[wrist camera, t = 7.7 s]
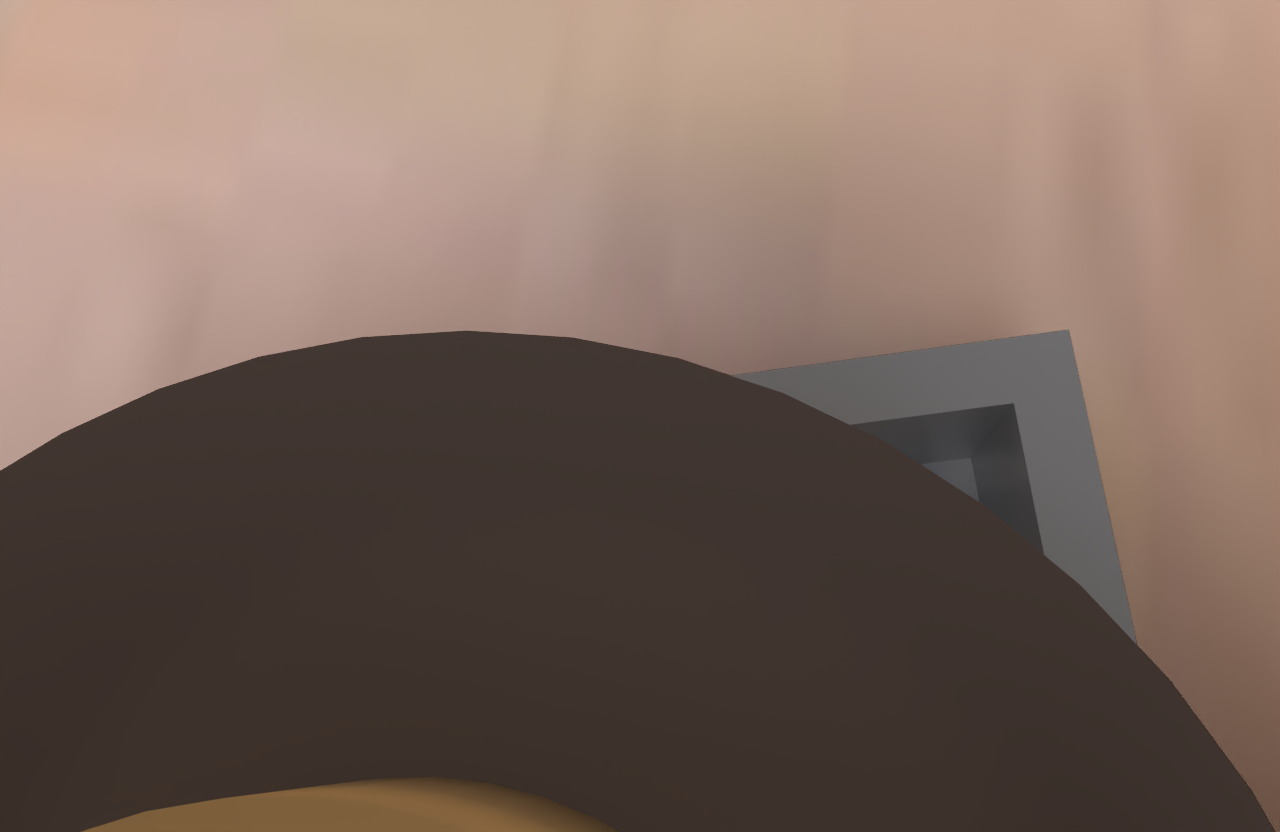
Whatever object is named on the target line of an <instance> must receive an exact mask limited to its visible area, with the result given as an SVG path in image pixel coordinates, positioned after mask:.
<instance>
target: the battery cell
mask: <svg viewBox="0 0 1280 832" xmlns="http://www.w3.org/2000/svg"><path fill="white" fill-rule="evenodd" d="M0 832H1275V830H1274V829H1273V827H1272V825H1271V823H1270V822H1269V820H1268V818H1267V816H1266V815H1265V813H1264V811H1263V809H1262V808H1261V806H1260V804H1259V802H1258V801H1257V799H1256V797H1255V796H1254V794H1253V792H1252V790H1251V789H1250V787H1249V786H1248V785H1247V783H1246V782H1245V781H1244V779H1243V778H1242V777H1241V775H1240V774H1239V773H1238V771H1237V770H1236V769H1235V767H1234V766H1233V764H1232V763H1231V762H1230V760H1229V759H1228V758H1227V756H1226V755H1225V754H1224V752H1223V751H1222V750H1221V748H1220V747H1219V746H1218V744H1217V743H1216V742H1215V740H1214V739H1213V737H1212V736H1211V735H1210V733H1209V732H1208V731H1207V729H1206V728H1205V727H1204V725H1203V724H1202V723H1201V721H1200V720H1199V719H1198V717H1197V716H1196V714H1195V713H1194V712H1193V710H1192V709H1191V708H1190V706H1189V705H1188V704H1187V702H1186V701H1185V700H1184V698H1183V697H1182V696H1181V694H1180V693H1179V691H1178V690H1177V689H1176V687H1175V686H1174V685H1173V683H1172V682H1171V681H1170V680H1169V678H1168V677H1167V676H1166V675H1165V674H1164V673H1163V672H1162V671H1161V670H1160V669H1159V668H1158V667H1157V666H1156V665H1155V664H1154V663H1153V661H1152V660H1151V659H1150V658H1149V657H1148V656H1147V655H1146V654H1145V653H1144V652H1143V651H1142V650H1141V649H1140V648H1139V647H1138V646H1137V644H1136V643H1135V642H1134V641H1133V640H1132V639H1131V638H1130V637H1129V636H1128V635H1127V634H1126V633H1125V632H1124V631H1123V630H1122V629H1121V628H1120V626H1119V625H1118V624H1117V623H1116V622H1115V621H1114V620H1113V619H1112V618H1111V617H1110V616H1109V615H1108V614H1107V613H1106V612H1105V611H1104V609H1103V608H1102V607H1101V606H1100V605H1099V604H1098V603H1097V602H1096V601H1095V600H1094V599H1093V598H1092V597H1091V596H1090V595H1089V594H1088V592H1087V591H1086V590H1085V589H1084V588H1083V587H1082V586H1081V585H1080V584H1078V583H1077V582H1076V581H1075V580H1074V579H1072V578H1071V577H1070V576H1069V575H1068V574H1066V573H1065V572H1064V571H1063V570H1062V569H1060V568H1059V567H1058V566H1057V565H1056V564H1054V563H1053V562H1052V561H1051V560H1050V559H1048V558H1047V557H1046V556H1045V555H1044V554H1042V553H1041V552H1040V551H1039V550H1038V549H1036V548H1035V547H1034V546H1033V545H1032V544H1030V543H1029V542H1028V541H1027V540H1026V539H1024V538H1023V537H1022V536H1021V535H1020V534H1018V533H1017V532H1016V531H1015V530H1014V529H1012V528H1011V527H1010V526H1009V525H1008V524H1006V523H1005V522H1004V521H1003V520H1002V519H1000V518H999V517H998V516H997V515H996V514H994V513H993V512H992V511H991V510H990V509H988V508H987V507H986V506H984V505H983V504H981V503H980V502H978V501H977V500H975V499H974V498H972V497H970V496H969V495H967V494H966V493H964V492H963V491H961V490H960V489H958V488H956V487H955V486H953V485H952V484H950V483H949V482H947V481H946V480H944V479H942V478H941V477H939V476H938V475H936V474H935V473H933V472H932V471H930V470H928V469H927V468H925V467H924V466H922V465H921V464H919V463H918V462H916V461H914V460H913V459H911V458H910V457H908V456H907V455H905V454H904V453H902V452H900V451H899V450H897V449H896V448H894V447H893V446H891V445H890V444H888V443H886V442H884V441H882V440H880V439H878V438H876V437H874V436H872V435H870V434H868V433H866V432H864V431H861V430H859V429H857V428H855V427H853V426H851V425H849V424H847V423H845V422H843V421H841V420H839V419H836V418H834V417H832V416H830V415H828V414H826V413H824V412H822V411H820V410H818V409H816V408H813V407H811V406H809V405H807V404H805V403H803V402H801V401H799V400H797V399H795V398H793V397H790V396H788V395H786V394H784V393H782V392H779V391H776V390H773V389H770V388H767V387H763V386H760V385H757V384H754V383H751V382H748V381H745V380H742V379H739V378H736V377H733V376H730V375H727V374H724V373H721V372H718V371H715V370H712V369H709V368H706V367H703V366H700V365H697V364H694V363H691V362H688V361H685V360H682V359H679V358H674V357H669V356H664V355H659V354H654V353H649V352H644V351H638V350H633V349H628V348H623V347H618V346H613V345H608V344H602V343H597V342H592V341H587V340H582V339H577V338H570V337H555V336H539V335H524V334H508V333H493V332H478V331H455V332H439V333H423V334H407V335H391V336H375V337H361V338H356V339H350V340H345V341H340V342H335V343H329V344H324V345H319V346H314V347H308V348H303V349H298V350H292V351H287V352H282V353H277V354H271V355H266V356H261V357H257V358H254V359H251V360H248V361H245V362H241V363H238V364H235V365H232V366H229V367H226V368H223V369H220V370H216V371H213V372H210V373H207V374H204V375H201V376H198V377H195V378H192V379H188V380H185V381H182V382H179V383H176V384H173V385H170V386H167V387H164V388H160V389H158V390H155V391H153V392H151V393H149V394H147V395H145V396H142V397H140V398H138V399H136V400H134V401H132V402H129V403H127V404H125V405H123V406H121V407H118V408H116V409H114V410H112V411H110V412H108V413H105V414H103V415H101V416H99V417H97V418H95V419H92V420H90V421H88V422H86V423H84V424H81V425H79V426H77V427H75V428H73V429H71V430H68V431H66V432H64V433H62V434H60V435H58V436H57V437H55V438H54V439H52V440H50V441H49V442H47V443H45V444H44V445H42V446H40V447H39V448H37V449H36V450H34V451H32V452H31V453H29V454H27V455H26V456H24V457H22V458H21V459H19V460H17V461H16V462H14V463H13V464H11V465H9V466H8V467H6V468H4V469H3V470H1V471H0Z"/></svg>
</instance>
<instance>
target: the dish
mask: <svg viewBox="0 0 1280 832" xmlns="http://www.w3.org/2000/svg"><path fill="white" fill-rule="evenodd" d="M732 376H733V377H736V378H739V379H742V380H745V381H748V382H751V383H754V384H757V385H760V386H763V387H767V388H770V389H773V390H776V391H779V392H782V393H784V394H786V395H788V396H790V397H793V398H795V399H797V400H799V401H801V402H803V403H805V404H807V405H809V406H811V407H813V408H816V409H818V410H820V411H822V412H824V413H826V414H828V415H830V416H832V417H834V418H836V419H839V420H841V421H843V422H845V423H847V424H849V425H851V426H853V427H855V428H857V429H859V430H861V431H864V432H866V433H868V434H870V435H872V436H874V437H876V438H878V439H880V440H882V441H884V442H886V443H888V444H890V445H891V446H893V447H894V448H896V449H897V450H899V451H900V452H902V453H904V454H905V455H907V456H908V457H910V458H911V459H913V460H914V461H916V462H918V463H919V464H921V465H922V466H924V467H925V468H927V469H928V470H930V471H932V472H933V473H935V474H936V475H938V476H939V477H941V478H942V479H944V480H946V481H947V482H949V483H950V484H952V485H953V486H955V487H956V488H958V489H960V490H961V491H963V492H964V493H966V494H967V495H969V496H970V497H972V498H974V499H975V500H977V501H978V502H980V503H981V504H983V505H984V506H986V507H987V508H988V509H990V510H991V511H992V512H993V513H994V514H996V515H997V516H998V517H999V518H1000V519H1002V520H1003V521H1004V522H1005V523H1006V524H1008V525H1009V526H1010V527H1011V528H1012V529H1014V530H1015V531H1016V532H1017V533H1018V534H1020V535H1021V536H1022V537H1023V538H1024V539H1026V540H1027V541H1028V542H1029V543H1030V544H1032V545H1033V546H1034V547H1035V548H1036V549H1038V550H1039V551H1040V552H1041V553H1042V554H1044V555H1045V556H1046V557H1047V558H1048V559H1050V560H1051V561H1052V562H1053V563H1054V564H1056V565H1057V566H1058V567H1059V568H1060V569H1062V570H1063V571H1064V572H1065V573H1066V574H1068V575H1069V576H1070V577H1071V578H1072V579H1074V580H1075V581H1076V582H1077V583H1078V584H1080V585H1081V586H1082V587H1083V588H1084V589H1085V590H1086V591H1087V592H1088V594H1089V595H1090V596H1091V597H1092V598H1093V599H1094V600H1095V601H1096V602H1097V603H1098V604H1099V605H1100V606H1101V607H1102V608H1103V609H1104V611H1105V612H1106V613H1107V614H1108V615H1109V616H1110V617H1111V618H1112V619H1113V620H1114V621H1115V622H1116V623H1117V624H1118V625H1119V626H1120V628H1121V629H1122V630H1123V631H1124V632H1125V633H1126V634H1127V635H1128V636H1129V637H1130V638H1131V639H1132V640H1133V641H1134V642H1135V643H1136V644H1137V641H1136V637H1135V632H1134V627H1133V623H1132V618H1131V614H1130V609H1129V604H1128V600H1127V595H1126V591H1125V586H1124V581H1123V577H1122V572H1121V568H1120V563H1119V558H1118V554H1117V549H1116V544H1115V540H1114V535H1113V531H1112V526H1111V521H1110V517H1109V512H1108V508H1107V503H1106V498H1105V494H1104V489H1103V485H1102V480H1101V475H1100V471H1099V466H1098V462H1097V457H1096V452H1095V448H1094V443H1093V438H1092V434H1091V429H1090V425H1089V420H1088V415H1087V411H1086V406H1085V402H1084V397H1083V392H1082V388H1081V383H1080V379H1079V374H1078V369H1077V365H1076V360H1075V356H1074V351H1073V346H1072V342H1071V337H1070V332H1069V330H1062V331H1055V332H1047V333H1040V334H1033V335H1025V336H1018V337H1011V338H1003V339H996V340H989V341H981V342H974V343H967V344H959V345H952V346H945V347H937V348H930V349H923V350H915V351H908V352H901V353H893V354H886V355H879V356H871V357H864V358H857V359H849V360H842V361H835V362H827V363H820V364H812V365H805V366H798V367H790V368H783V369H776V370H768V371H761V372H754V373H746V374H739V375H732Z"/></svg>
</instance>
